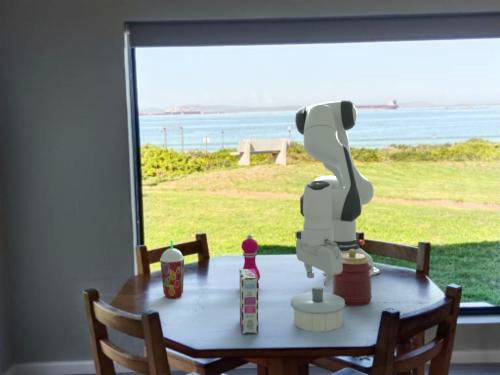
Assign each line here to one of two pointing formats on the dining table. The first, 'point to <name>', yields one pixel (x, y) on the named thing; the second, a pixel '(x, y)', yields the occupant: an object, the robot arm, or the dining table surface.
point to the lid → (317, 302)
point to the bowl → (317, 321)
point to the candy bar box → (248, 301)
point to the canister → (354, 279)
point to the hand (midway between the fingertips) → (318, 281)
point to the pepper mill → (250, 254)
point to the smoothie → (172, 272)
